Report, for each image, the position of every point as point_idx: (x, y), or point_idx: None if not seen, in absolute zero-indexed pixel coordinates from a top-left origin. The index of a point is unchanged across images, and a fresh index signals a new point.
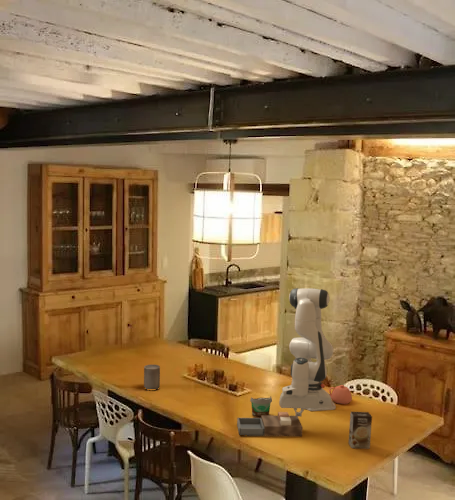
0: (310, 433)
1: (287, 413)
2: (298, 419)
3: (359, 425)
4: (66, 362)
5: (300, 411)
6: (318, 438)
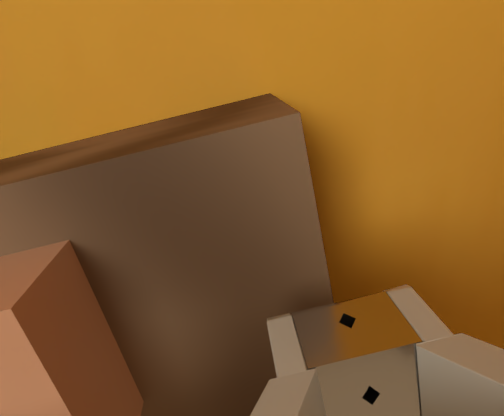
0: None
1: (45, 404)
2: None
3: None
4: None
5: (449, 385)
6: None
